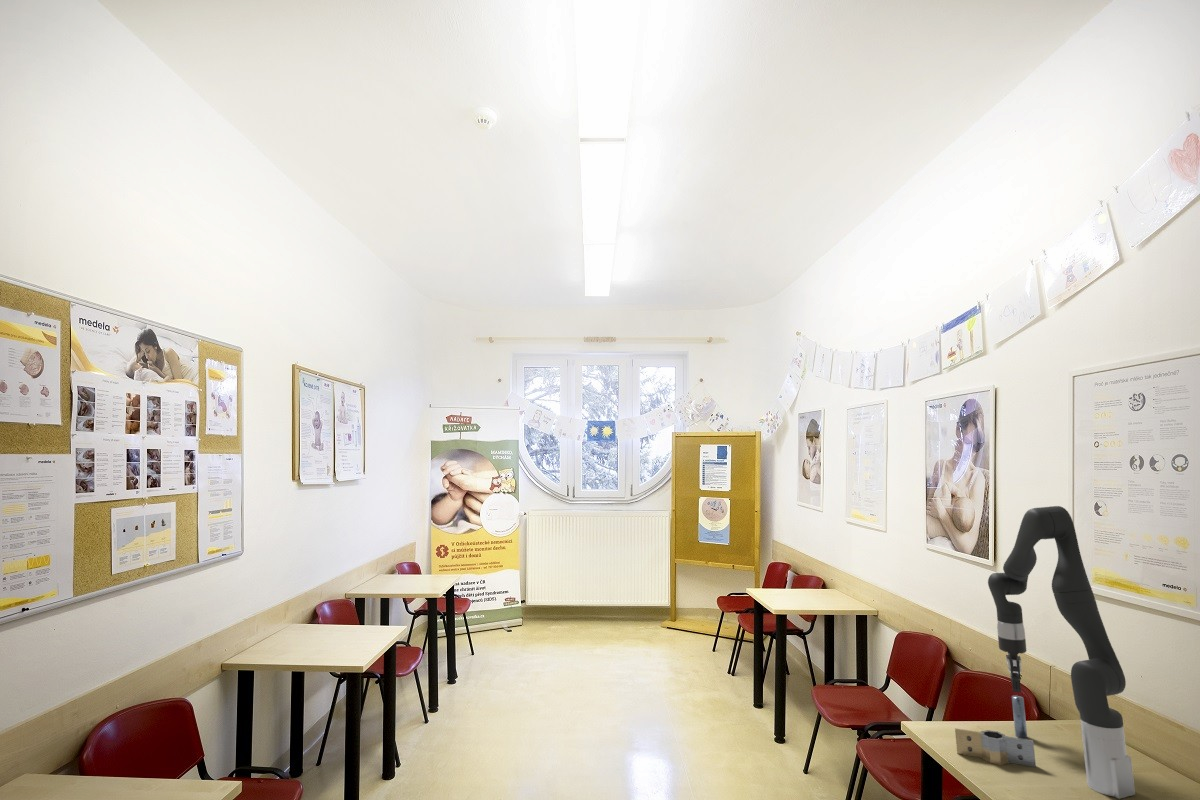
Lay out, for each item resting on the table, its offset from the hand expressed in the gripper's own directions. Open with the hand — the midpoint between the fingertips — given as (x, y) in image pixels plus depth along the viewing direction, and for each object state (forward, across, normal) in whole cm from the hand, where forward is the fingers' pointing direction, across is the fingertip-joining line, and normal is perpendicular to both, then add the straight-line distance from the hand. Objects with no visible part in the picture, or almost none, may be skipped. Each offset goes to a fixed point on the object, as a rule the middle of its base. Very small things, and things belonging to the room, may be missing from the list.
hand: (1015, 687), depth 204 cm
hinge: (+15, -22, +8) cm, 27 cm away
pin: (+15, 0, 0) cm, 15 cm away
